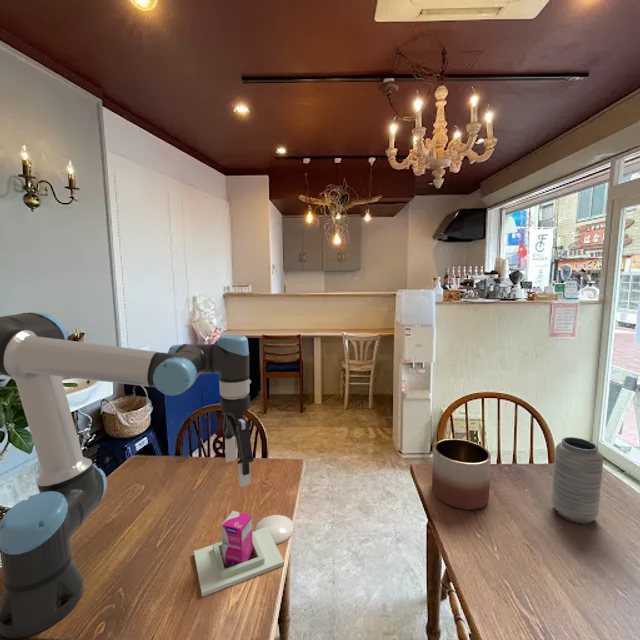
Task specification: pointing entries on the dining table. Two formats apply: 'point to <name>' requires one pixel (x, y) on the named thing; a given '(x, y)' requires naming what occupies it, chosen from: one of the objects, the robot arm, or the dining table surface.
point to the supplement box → (237, 538)
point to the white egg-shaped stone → (277, 527)
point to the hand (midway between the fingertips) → (237, 472)
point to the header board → (220, 578)
